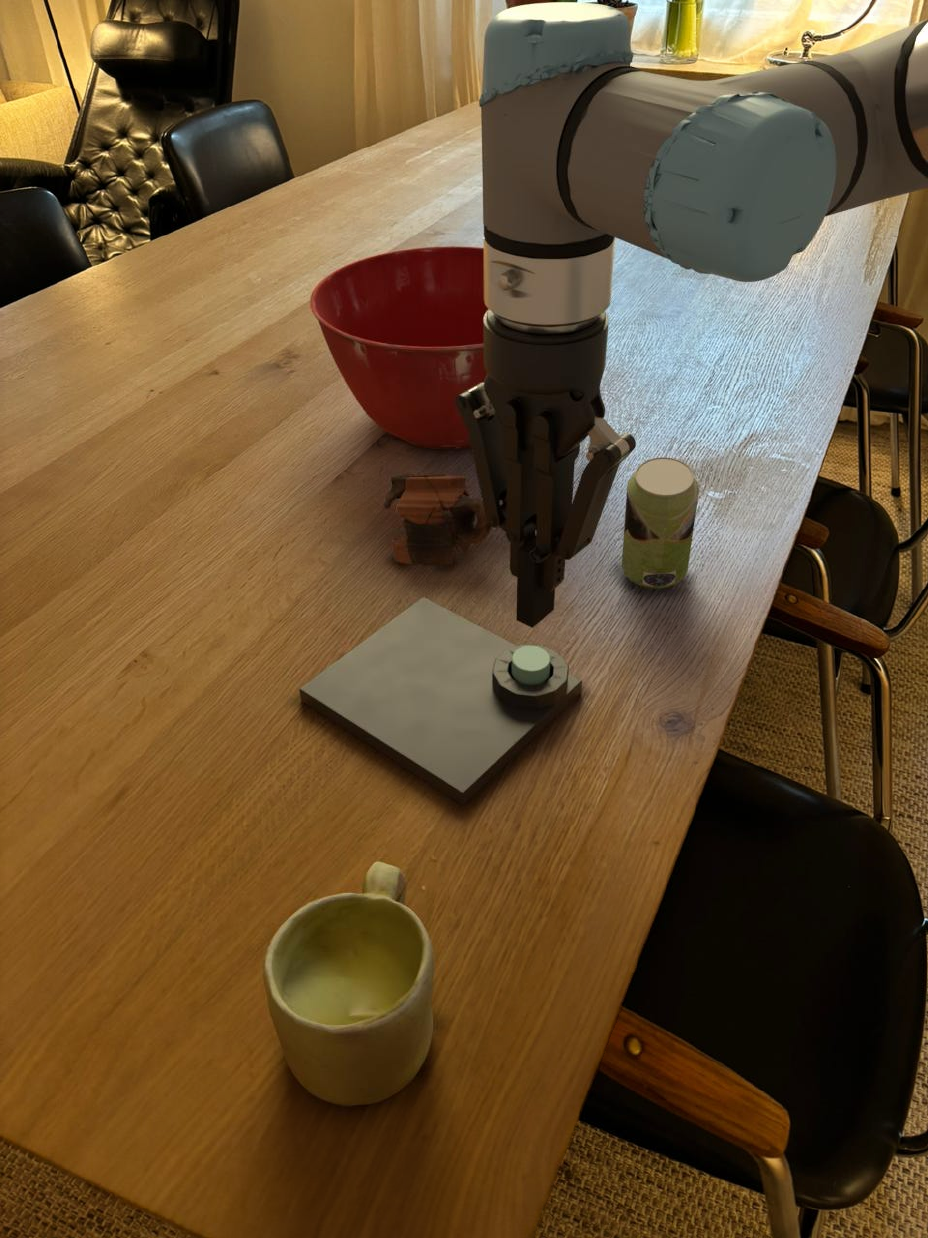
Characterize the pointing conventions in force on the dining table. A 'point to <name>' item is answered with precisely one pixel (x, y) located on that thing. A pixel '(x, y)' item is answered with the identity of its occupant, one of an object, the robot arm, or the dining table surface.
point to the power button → (530, 665)
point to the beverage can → (659, 522)
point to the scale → (440, 697)
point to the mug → (353, 991)
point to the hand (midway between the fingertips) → (535, 614)
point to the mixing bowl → (408, 337)
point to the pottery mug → (435, 518)
